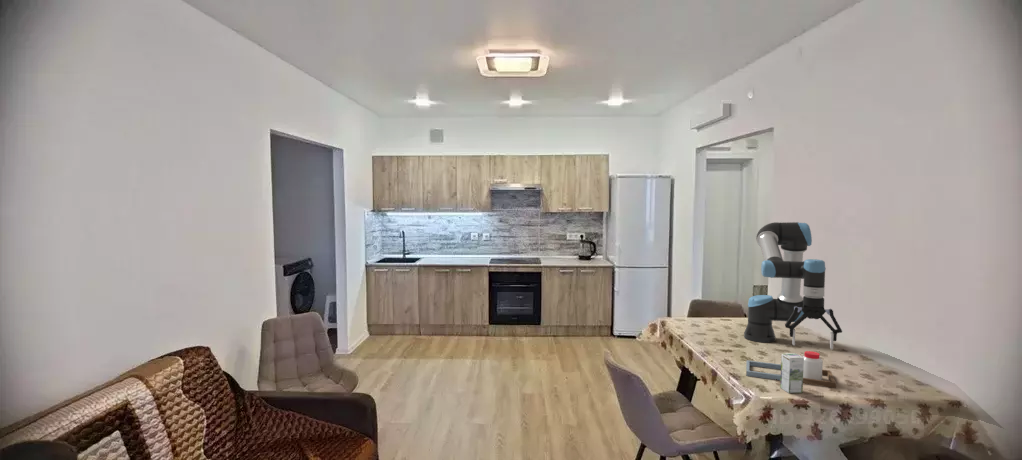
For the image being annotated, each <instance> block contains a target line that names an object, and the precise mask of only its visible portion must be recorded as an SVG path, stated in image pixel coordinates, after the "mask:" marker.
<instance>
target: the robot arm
mask: <svg viewBox="0 0 1022 460" xmlns="http://www.w3.org/2000/svg"><path fill="white" fill-rule="evenodd" d="M755 237H756V243H757V245H758V246H760V249H761V252H762V257H763V261H761V269H760V270H761V275H762V277H764V278H774V279H775V278H776V279H778V278H779V279H781V291H780V293H778V295H777V298H773V297H774V296H772V295H769V294H768V295H766V294H757V295H753V296H750V297H749V298H748V301H747V302H748V303H747V307H748V309H747V325H746V326H745V329H744V333H743V338H744V339H745V340H748V341H752V342H756V343H758V342H759V343H773V342H776V334H775V331H774V328H773V321H774V322H775V321H776V322H785V324H784V325H785V328H787V329H789V336H790V337H789V338H792V343H791V344H792V346H796V327H797V326H798V325H800V324H801V323H802V322H803V321H805V320H806V319H810V320H811V319H815V320H819V319H820V320H821V321H822V323H824V324H825V325H826V326H827V327H828V329H829V330H830V331H831V332H830V335H829V337H830V339H829V340H830V341H829V348H830V350H834V342H837V339H838V338H837V336H838V334H840V333H843V330H842V328H841V327H840V325H839V323H838V321H837V319H836V317H835V315H834V310H833V309H832V308H829V309H825V298H824V297H825V287H826V286H825V284H826V283H825V282H826V262H825V261H824V260H823V259H817V258H816V259H814V258H813V259H808V258H807V259H805V260H804V252H806V251H807V250H808V247H811V245H812V243H813V240H812V238H813V237H812V231H811V228H810V225H809V224H808V223H806V222H798V221H797V222H795V221H793V222H789V221H788V222H778V221H777V222H770V223H767V224H765V225H764V226H762V227H761V228H760V229H759V230H758V231H757V234H756V236H755ZM780 249H781V250H782V251H783V255H782V252H781V250H780ZM802 280H803V286H802V287H803V290H802V294H803V296H802V295H801V288H802V287H801V285H802ZM825 313H826V314H827V315H828V316H830V318H831V320H832V323H833V324H834V326H835V328H836V329H835V328H834V327H833V326H832V324H830V322H829V321H828V320H827V319H826V318H825V316H823V315H825Z"/></svg>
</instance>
